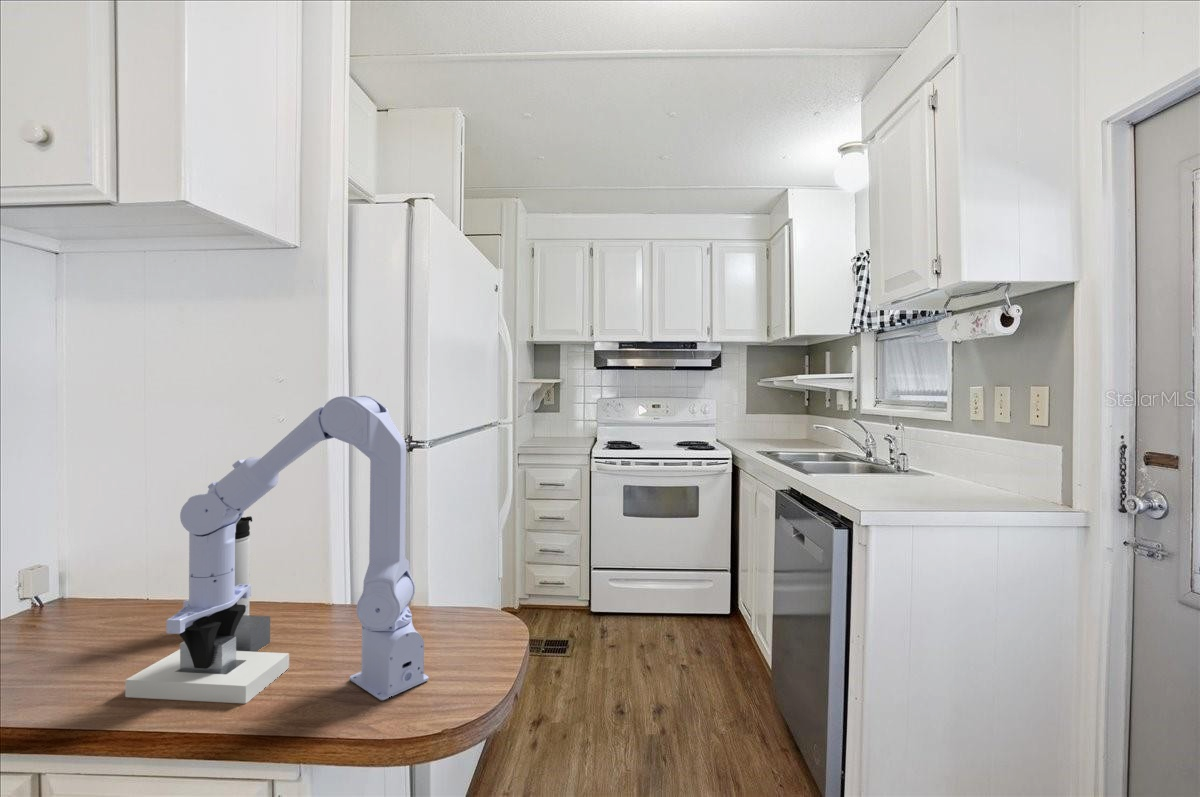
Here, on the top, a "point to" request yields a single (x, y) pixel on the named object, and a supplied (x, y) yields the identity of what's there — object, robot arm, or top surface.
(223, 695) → the slot board
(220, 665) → the blocky grey bit
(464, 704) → the top surface
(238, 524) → the travel mug
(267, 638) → the square bit
